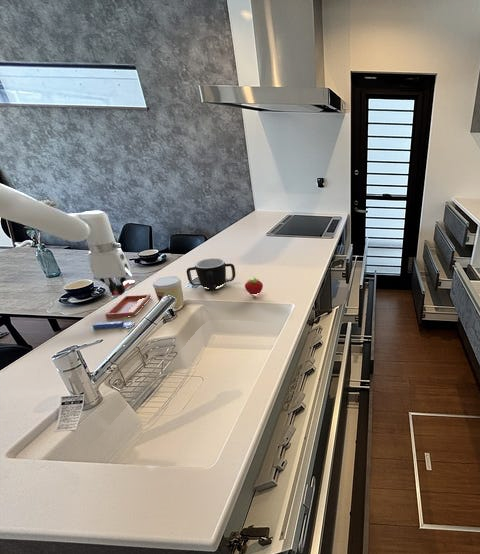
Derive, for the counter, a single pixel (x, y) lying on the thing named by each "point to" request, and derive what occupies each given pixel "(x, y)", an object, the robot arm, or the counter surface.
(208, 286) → the mug
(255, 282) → the strawberry
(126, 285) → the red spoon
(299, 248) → the counter surface
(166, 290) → the coffee cup
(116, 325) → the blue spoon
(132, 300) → the red tray
